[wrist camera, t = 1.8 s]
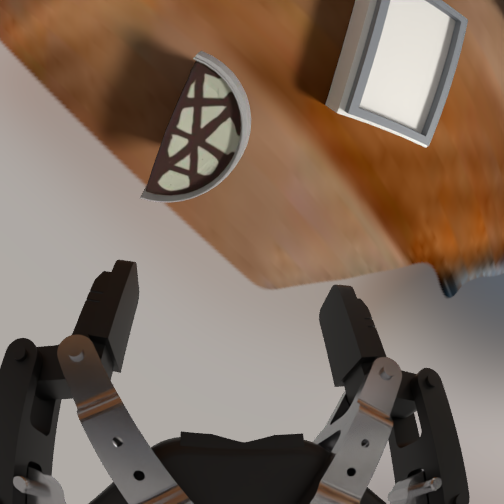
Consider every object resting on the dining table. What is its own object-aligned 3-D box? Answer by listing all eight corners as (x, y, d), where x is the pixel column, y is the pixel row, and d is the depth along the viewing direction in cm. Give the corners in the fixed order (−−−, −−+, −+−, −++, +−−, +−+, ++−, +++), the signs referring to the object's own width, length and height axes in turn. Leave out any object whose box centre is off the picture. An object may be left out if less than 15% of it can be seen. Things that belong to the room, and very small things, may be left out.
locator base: (362, -27, 16) (383, -37, 12) (444, 18, 18) (472, 20, 14) (325, 105, 26) (340, 115, 22) (408, 135, 28) (431, 151, 24)
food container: (217, 177, 31) (210, 229, 23) (165, 157, 29) (138, 203, 21) (269, 76, 24) (284, 87, 16) (211, 52, 22) (197, 50, 14)
